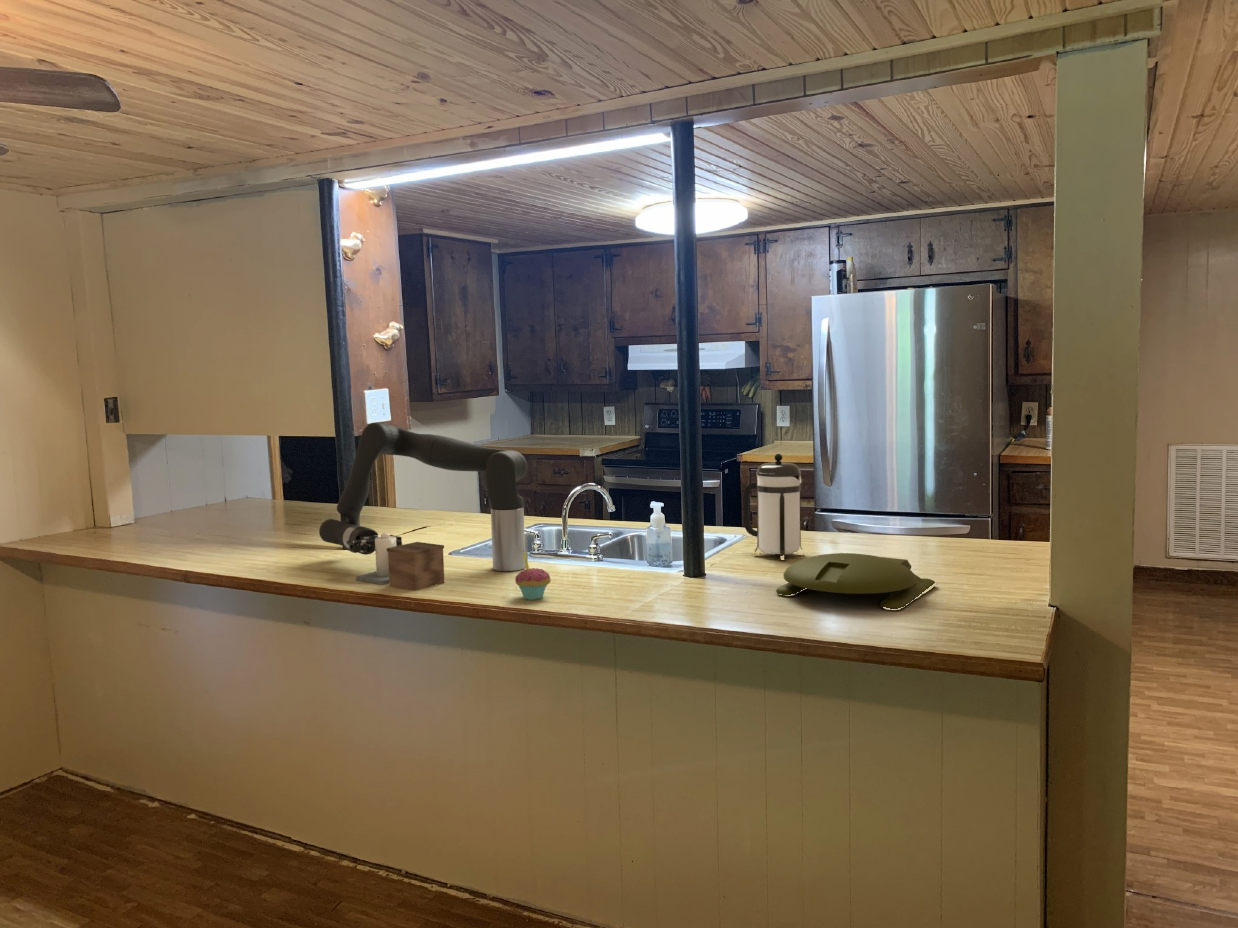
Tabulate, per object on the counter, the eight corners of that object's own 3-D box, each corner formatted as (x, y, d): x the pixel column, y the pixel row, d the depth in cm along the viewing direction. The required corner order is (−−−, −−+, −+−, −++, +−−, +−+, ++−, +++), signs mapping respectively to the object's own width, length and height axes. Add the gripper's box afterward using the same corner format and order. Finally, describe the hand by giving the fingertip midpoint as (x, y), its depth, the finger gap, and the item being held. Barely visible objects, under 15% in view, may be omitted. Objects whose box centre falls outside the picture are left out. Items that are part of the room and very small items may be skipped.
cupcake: (518, 602, 213) (517, 553, 212) (513, 594, 221) (511, 547, 220) (554, 599, 216) (552, 550, 214) (547, 591, 224) (545, 544, 223)
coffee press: (801, 550, 269) (801, 451, 266) (807, 561, 253) (807, 455, 250) (743, 550, 270) (742, 451, 268) (745, 561, 255) (744, 456, 252)
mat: (391, 571, 252) (390, 568, 252) (417, 575, 245) (417, 572, 245) (356, 579, 242) (356, 576, 242) (383, 584, 236) (383, 580, 235)
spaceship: (821, 574, 238) (821, 537, 237) (939, 588, 220) (939, 548, 219) (761, 602, 210) (760, 561, 209) (890, 621, 192) (890, 576, 191)
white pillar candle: (388, 571, 247) (386, 529, 246) (402, 573, 244) (400, 531, 243) (372, 574, 243) (370, 532, 242) (385, 577, 240) (383, 534, 238)
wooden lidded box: (418, 578, 242) (416, 541, 242) (445, 582, 236) (444, 545, 236) (388, 585, 234) (386, 548, 233) (415, 590, 228) (413, 551, 227)
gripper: (335, 529, 250) (360, 536, 238) (383, 523, 259) (409, 530, 247) (337, 556, 251) (361, 564, 238) (384, 549, 260) (410, 556, 248)
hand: (385, 547), depth 243 cm, fingers open, 8 cm apart
